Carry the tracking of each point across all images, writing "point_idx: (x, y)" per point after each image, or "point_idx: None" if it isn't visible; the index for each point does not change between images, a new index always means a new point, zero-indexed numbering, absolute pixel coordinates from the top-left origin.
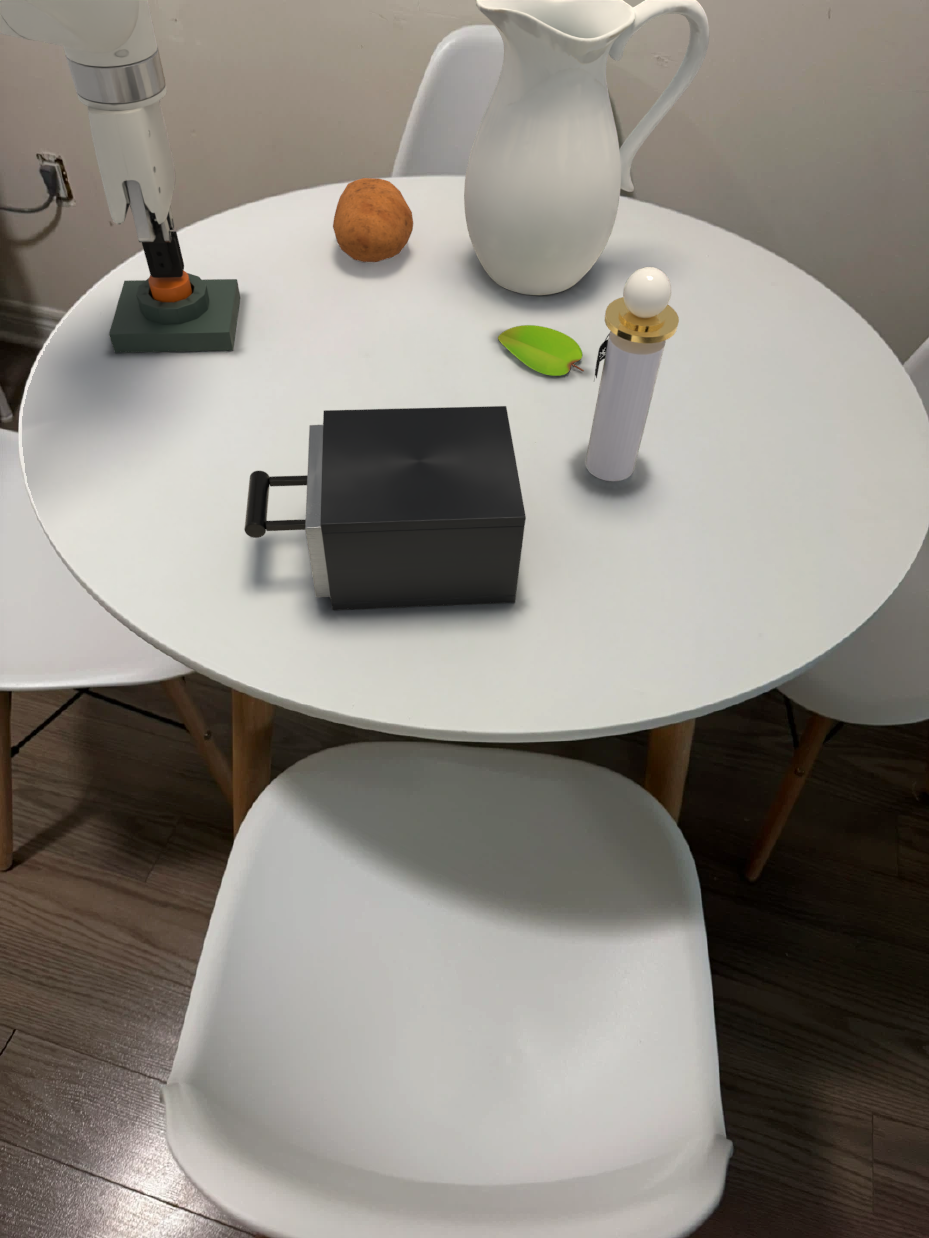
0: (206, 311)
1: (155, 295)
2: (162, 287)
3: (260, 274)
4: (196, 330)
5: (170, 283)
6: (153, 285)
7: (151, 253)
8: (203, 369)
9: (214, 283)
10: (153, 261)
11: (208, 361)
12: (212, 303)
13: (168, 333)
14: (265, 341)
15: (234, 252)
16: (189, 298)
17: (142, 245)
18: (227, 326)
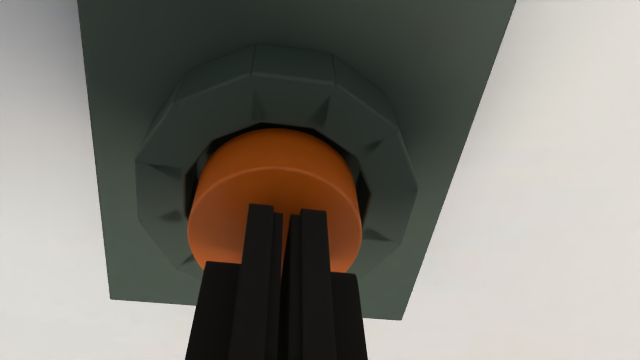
0: None
1: (219, 159)
2: (199, 220)
3: (491, 316)
4: (115, 224)
5: (231, 246)
6: (216, 189)
7: (190, 340)
8: (28, 184)
9: (394, 271)
10: (200, 300)
11: (71, 197)
12: None
13: (94, 142)
14: (173, 315)
15: (636, 269)
16: None
17: (232, 332)
18: (140, 296)
